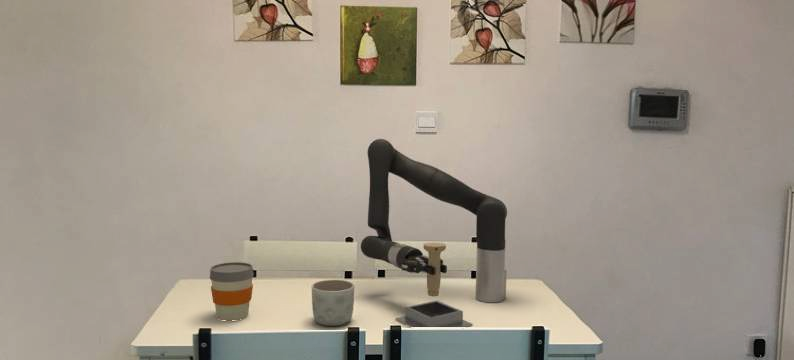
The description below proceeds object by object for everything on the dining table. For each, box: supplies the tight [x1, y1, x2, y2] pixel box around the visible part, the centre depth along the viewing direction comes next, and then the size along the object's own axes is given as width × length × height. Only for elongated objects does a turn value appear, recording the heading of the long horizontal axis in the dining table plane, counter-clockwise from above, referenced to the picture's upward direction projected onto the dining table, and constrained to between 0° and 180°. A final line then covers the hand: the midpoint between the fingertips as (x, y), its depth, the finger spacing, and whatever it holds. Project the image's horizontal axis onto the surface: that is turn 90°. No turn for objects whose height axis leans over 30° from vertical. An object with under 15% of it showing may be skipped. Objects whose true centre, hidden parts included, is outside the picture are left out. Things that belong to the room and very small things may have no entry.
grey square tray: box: [395, 300, 473, 328], centre depth 171 cm, size 16×16×4 cm
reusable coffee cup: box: [209, 261, 254, 322], centre depth 174 cm, size 13×13×15 cm
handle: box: [423, 242, 447, 297], centre depth 170 cm, size 5×6×15 cm
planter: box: [311, 279, 355, 327], centre depth 171 cm, size 12×12×11 cm
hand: (440, 270), depth 168 cm, fingers closed on handle, 3 cm apart
